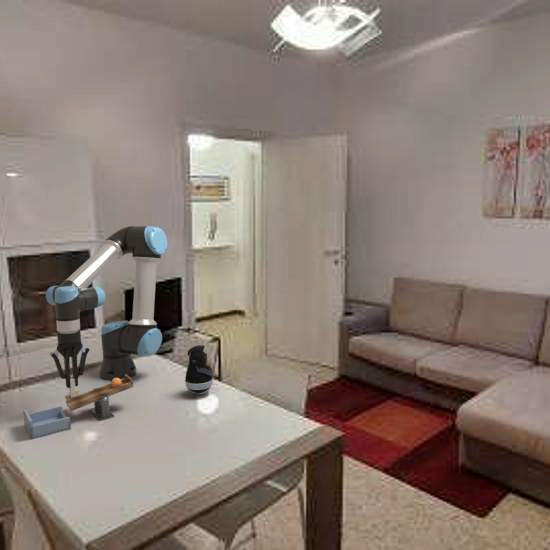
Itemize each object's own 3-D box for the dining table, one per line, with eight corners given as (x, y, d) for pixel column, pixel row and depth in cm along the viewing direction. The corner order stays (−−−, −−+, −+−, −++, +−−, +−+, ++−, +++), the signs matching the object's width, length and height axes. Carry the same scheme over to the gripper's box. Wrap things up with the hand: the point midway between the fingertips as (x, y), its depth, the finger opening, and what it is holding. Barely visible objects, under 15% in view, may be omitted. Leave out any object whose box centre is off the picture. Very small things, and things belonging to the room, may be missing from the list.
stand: (104, 406, 182) (102, 385, 181) (114, 417, 173) (112, 395, 172) (90, 410, 179) (88, 389, 178) (99, 420, 170) (98, 398, 169)
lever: (121, 376, 189) (119, 369, 188) (133, 386, 179) (131, 378, 178) (62, 398, 177) (60, 390, 176) (71, 411, 167) (69, 402, 166)
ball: (119, 375, 180) (109, 378, 178) (122, 378, 177) (112, 380, 175) (120, 384, 181) (110, 387, 179) (123, 387, 178) (113, 390, 176)
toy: (211, 399, 187) (209, 348, 184) (183, 399, 188) (180, 348, 185) (215, 388, 198) (213, 340, 195) (188, 388, 198) (186, 340, 195)
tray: (62, 416, 174) (61, 400, 173) (70, 429, 164) (69, 411, 163) (24, 425, 167) (23, 409, 166) (31, 439, 157) (29, 421, 157)
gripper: (85, 326, 179) (88, 388, 183) (46, 331, 172) (50, 396, 175) (90, 330, 173) (94, 394, 177) (51, 336, 166) (55, 403, 169)
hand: (72, 395), depth 176 cm, fingers closed
